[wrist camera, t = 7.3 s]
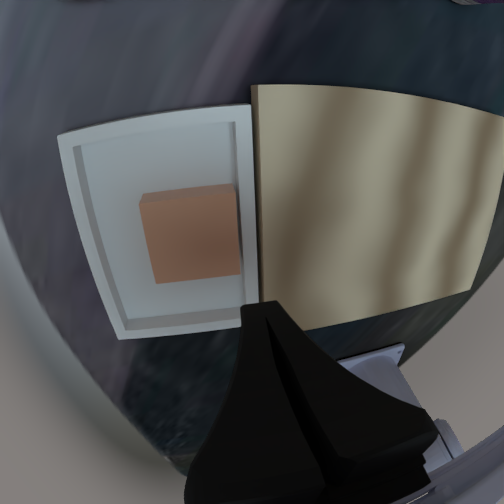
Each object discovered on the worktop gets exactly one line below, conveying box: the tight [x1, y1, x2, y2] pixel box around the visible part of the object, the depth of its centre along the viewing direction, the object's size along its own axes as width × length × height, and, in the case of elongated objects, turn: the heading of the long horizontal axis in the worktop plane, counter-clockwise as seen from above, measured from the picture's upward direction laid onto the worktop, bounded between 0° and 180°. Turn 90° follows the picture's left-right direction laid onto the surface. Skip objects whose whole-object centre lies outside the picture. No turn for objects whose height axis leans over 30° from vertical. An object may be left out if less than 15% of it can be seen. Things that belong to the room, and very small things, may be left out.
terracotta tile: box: [139, 183, 241, 284], centre depth 17 cm, size 5×5×2 cm
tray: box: [57, 103, 259, 340], centre depth 17 cm, size 10×14×2 cm
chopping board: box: [251, 85, 504, 331], centre depth 19 cm, size 20×16×2 cm
